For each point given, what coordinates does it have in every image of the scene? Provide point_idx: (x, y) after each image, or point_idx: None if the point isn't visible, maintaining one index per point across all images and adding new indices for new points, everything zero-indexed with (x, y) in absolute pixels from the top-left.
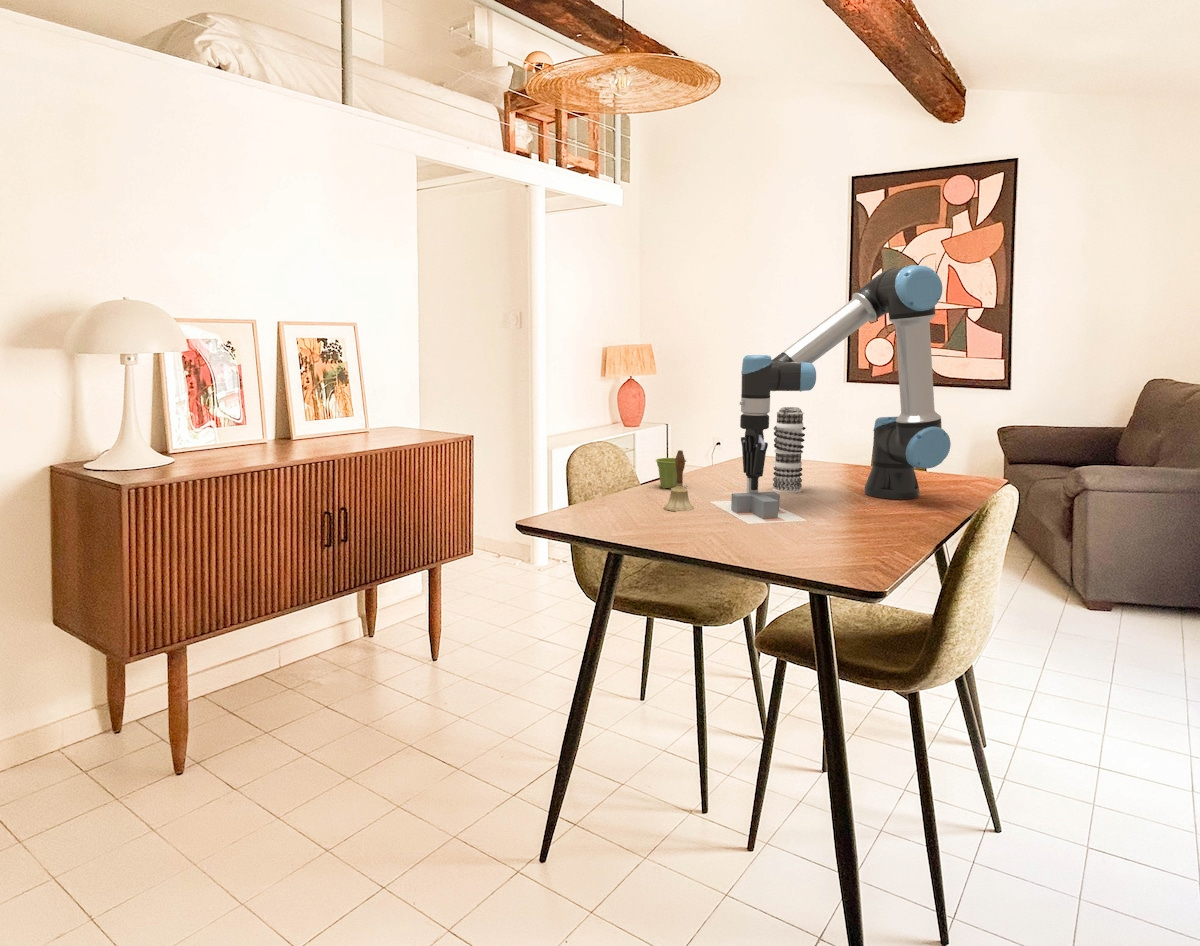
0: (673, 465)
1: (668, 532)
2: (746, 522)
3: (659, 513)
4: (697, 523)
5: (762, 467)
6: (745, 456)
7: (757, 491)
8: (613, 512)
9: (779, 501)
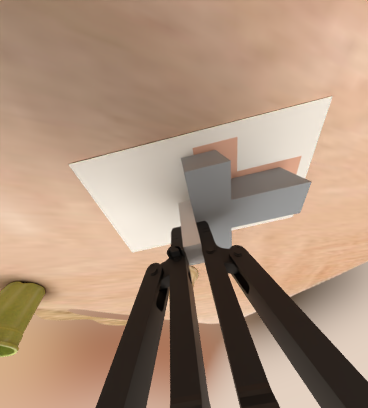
0: (12, 337)
1: (284, 275)
2: (283, 218)
3: (204, 285)
4: (259, 260)
5: (271, 281)
6: (154, 356)
7: (193, 215)
8: (196, 305)
9: (222, 155)
